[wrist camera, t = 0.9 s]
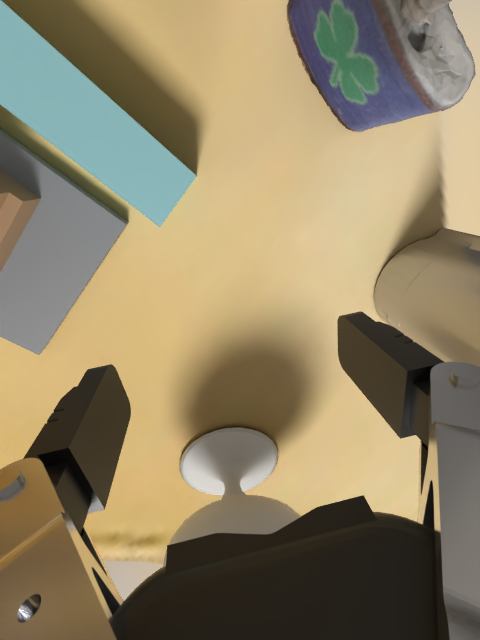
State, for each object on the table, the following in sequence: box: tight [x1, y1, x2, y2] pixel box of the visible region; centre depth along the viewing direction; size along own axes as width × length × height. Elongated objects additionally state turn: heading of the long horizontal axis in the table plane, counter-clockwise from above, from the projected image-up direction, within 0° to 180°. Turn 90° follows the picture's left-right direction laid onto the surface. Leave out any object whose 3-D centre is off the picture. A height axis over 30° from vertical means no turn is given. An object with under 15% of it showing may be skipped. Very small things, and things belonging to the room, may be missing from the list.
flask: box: [287, 0, 475, 132], centre depth 15 cm, size 9×3×11 cm, turn 40°
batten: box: [0, 0, 197, 227], centre depth 17 cm, size 4×18×4 cm, turn 49°
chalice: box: [163, 427, 301, 567], centre depth 30 cm, size 14×14×15 cm
